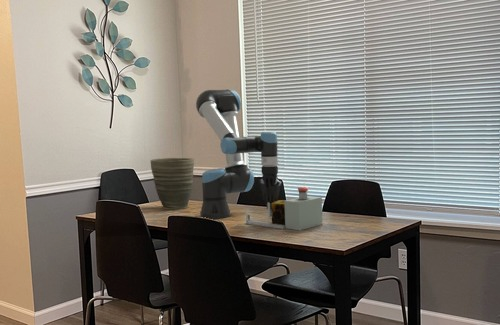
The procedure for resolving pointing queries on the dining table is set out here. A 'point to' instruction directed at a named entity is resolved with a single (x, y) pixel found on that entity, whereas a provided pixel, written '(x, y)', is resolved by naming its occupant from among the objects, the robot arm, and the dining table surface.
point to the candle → (278, 212)
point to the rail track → (263, 223)
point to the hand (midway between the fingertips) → (270, 216)
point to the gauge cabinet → (303, 213)
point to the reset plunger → (303, 193)
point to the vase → (173, 181)
